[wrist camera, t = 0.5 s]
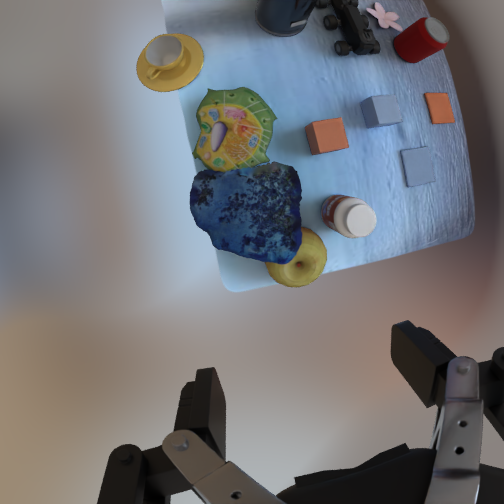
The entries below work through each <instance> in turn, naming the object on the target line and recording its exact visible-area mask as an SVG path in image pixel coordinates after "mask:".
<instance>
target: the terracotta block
mask: <svg viewBox="0 0 504 504" xmlns="http://www.w3.org/2000/svg"><path fill="white" fill-rule="evenodd" d="M305 130H306V134H307V137H308V141H309V145H310V149H311V153H312V155H316V154H321V153H326V152H332V151H337V150H341V149H345V148H349V145H348V141H347V137H346V133H345V129H344V125H343V122H342V118H341V117H340V118H334V119H327V120H321V121H315V122H312V123H310V124H309V125H307V126H306V127H305Z"/></svg>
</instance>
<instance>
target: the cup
mask: <svg viewBox="0 0 504 504" xmlns="http://www.w3.org/2000/svg"><path fill="white" fill-rule="evenodd" d="M203 60H204V55H203V50H202V48H201V46H200V44H199V43H198V42H197V41H196V40H195V39H193V38H192V37H190V36H187V35H184V34H163V35H159V36H157V37H155V38H154V39H152V40H151V41H150V42H149V43H148V44H147V46H146V47H145V48H144V49H143V51H142V52H141V54H140V56H139V58H138V61H137V75H138V78H139V79H140V81H141V82H142V84H144V85H145V86H146V87H148V88H149V89H151V90H154V91H159V92H169V91H174V90H177V89H180V88H182V87H184V86H186V85H187V84H189V83H190V82H191V81H192V80H193V79H194V78H195V77H196V76H197V75H198V73H199V72H200V70H201V68H202V65H203Z"/></svg>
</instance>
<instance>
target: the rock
mask: <svg viewBox="0 0 504 504" xmlns="http://www.w3.org/2000/svg"><path fill="white" fill-rule="evenodd" d="M301 192H302V189H301V183H300V179H299V176H298V174H297V171H295V170H294V168H293V167H292V166H288V165H284V164H280V163H277V162H272V163H271V164H270V163H267V165H262V166H257V167H253V168H250V167H248V168H242V169H236V170H232V169H231V171H226V172H221V171H213V170H204V171H200V172H198V174H197V175H196V176H195V177H194V181H193V183H192V189H191V192H190V210H191V213H192V215H193V217H194V220H195V222H196V225H197V226H198V227H199V228H201V229H202V230H203V231H205V232H207V233H208V234H209V236H210V238H211V241H212V244H213V246H214V247H216V248H217V249H218V250H224V251H228V252H232V253H235V254H237V255H239V256H242V257H246V258H252V259H255V260H260V261H263V262H273V263H277V264H281V265H282V264H287V263H289V262H290V261H291V260H292V259H293V258H294V257H295V256H296V255H297V252H298V250H299V248H300V246H301V244H302V231H301V217H300V212H299V210H300V208H299V206H300V204H299V202H300V201H301V199H302V197H301Z"/></svg>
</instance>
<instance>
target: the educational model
mask: <svg viewBox="0 0 504 504" xmlns="http://www.w3.org/2000/svg"><path fill="white" fill-rule="evenodd" d="M196 117H197V121H198V123H199V126H200V129H201V133H200V136H199V138H198V141H197V144H196V146H195V149H194V152H193V153H192V154H193V156H194V158H195V159H196V158H199V159H201V161H202V162H203V164H204V165H205V167H207V168H208V169H209V170H213V171H221V172H226V171H231V169H232V170H236V169H242V168H248V167H250V168H253V167H255V166H257V165H259V164H261V163H266V162H269V161H270V160H269V159H268V157H267V156H266V154H265V153H266V149H267V147H268V145H269V143H270V141H271V138H272V131H273V121H274V120H275V119H277V117H276V116H275V114H274V113H273V111H272V110H271V108H270V107H269V106H268V105H267V104H266V103H265V102H264V101H263V99H262V98H261V97H260V96H259V95H258V94H257V93H256V92H254V91H252V90H250V89H248V88H245V87H240V88H237V89H234V90H211V89H208V93H207V95H206V96H205V97H204V99H203V100H202V102H201V103H200V105H199V107H198V110H197V113H196Z"/></svg>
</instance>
